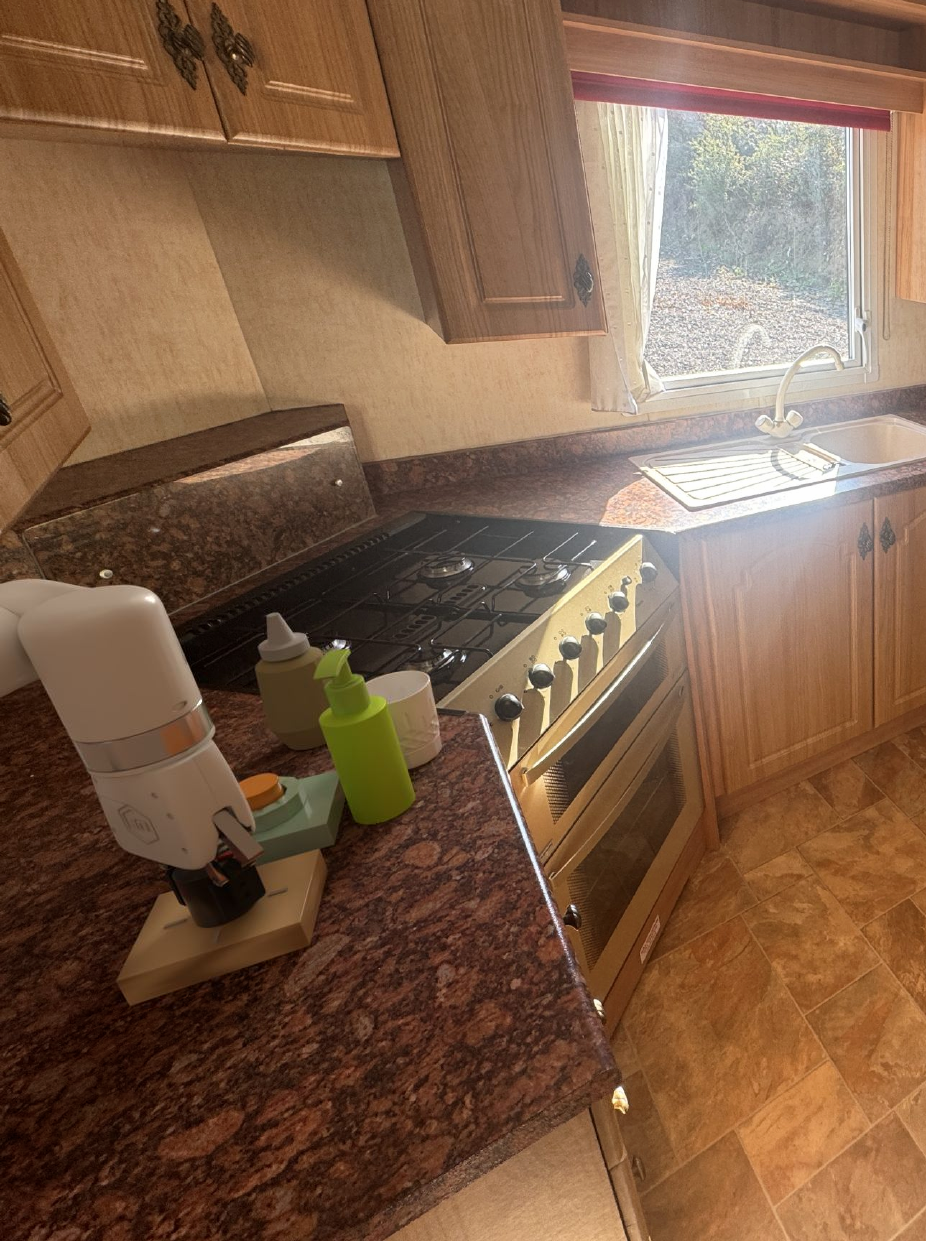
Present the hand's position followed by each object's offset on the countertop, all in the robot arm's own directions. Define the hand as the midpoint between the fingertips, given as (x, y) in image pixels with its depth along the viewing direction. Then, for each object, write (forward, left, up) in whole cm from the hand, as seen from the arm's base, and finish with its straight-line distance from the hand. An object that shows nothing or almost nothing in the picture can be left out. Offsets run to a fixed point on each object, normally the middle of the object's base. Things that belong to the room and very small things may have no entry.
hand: (223, 898), depth 66 cm
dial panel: (0, 0, -4) cm, 4 cm away
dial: (0, 0, -1) cm, 1 cm away
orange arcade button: (0, +14, 0) cm, 14 cm away
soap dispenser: (+10, +13, -4) cm, 17 cm away
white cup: (+12, +23, -4) cm, 26 cm away
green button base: (0, +14, -4) cm, 15 cm away
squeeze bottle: (+1, +33, -4) cm, 33 cm away
